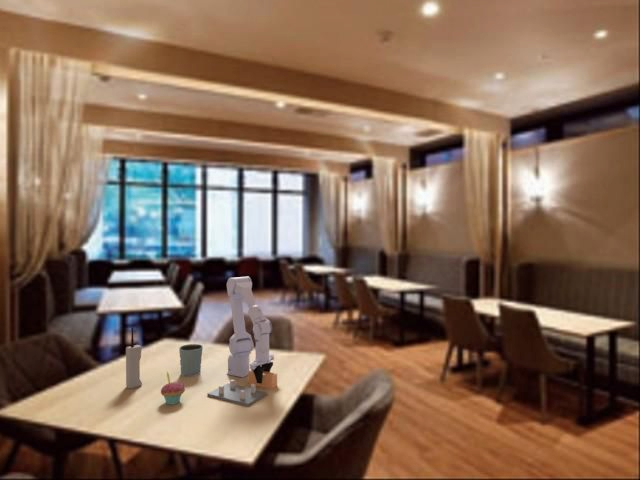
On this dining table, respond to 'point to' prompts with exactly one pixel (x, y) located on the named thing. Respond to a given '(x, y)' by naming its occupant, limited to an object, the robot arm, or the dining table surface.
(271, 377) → the long tan brick
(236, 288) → the robot arm
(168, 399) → the cupcake
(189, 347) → the drinking glass
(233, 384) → the grey pegged plate
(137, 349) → the vintage mobile phone
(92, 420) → the dining table surface
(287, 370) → the dining table surface
